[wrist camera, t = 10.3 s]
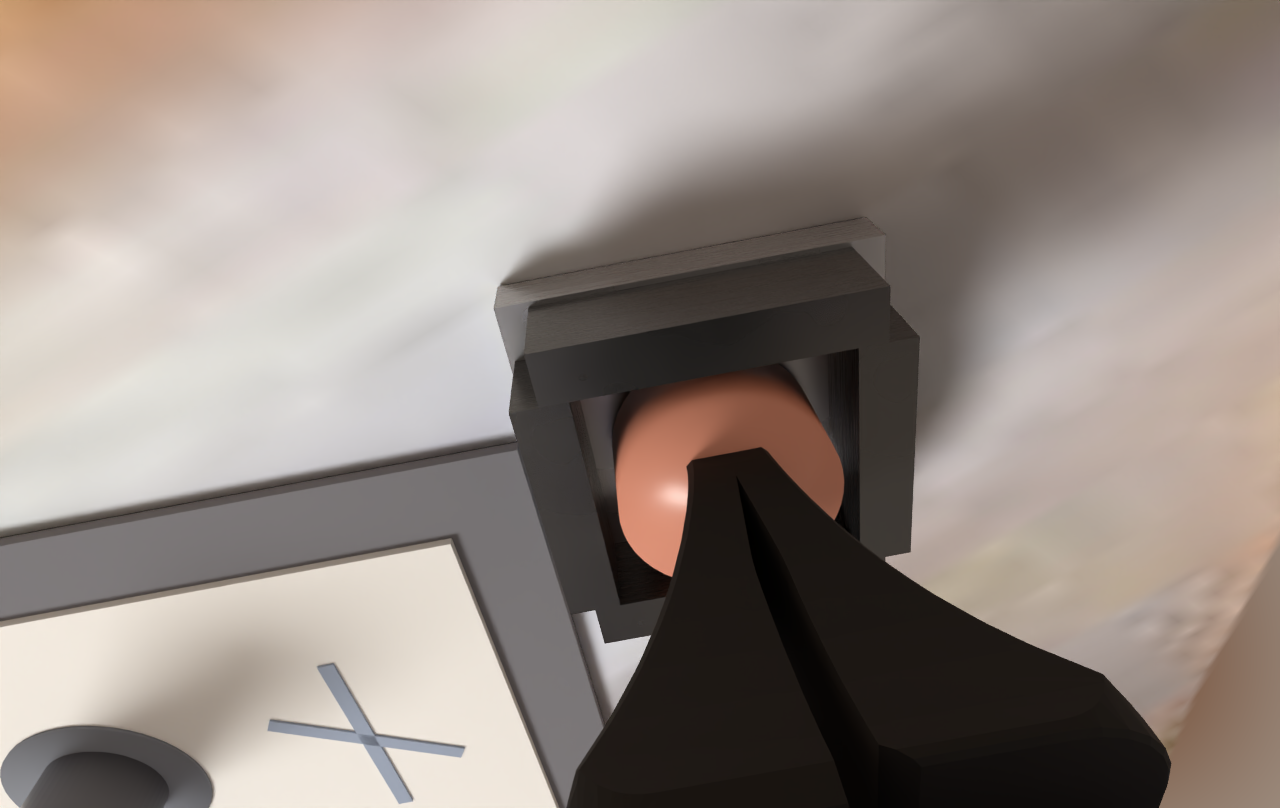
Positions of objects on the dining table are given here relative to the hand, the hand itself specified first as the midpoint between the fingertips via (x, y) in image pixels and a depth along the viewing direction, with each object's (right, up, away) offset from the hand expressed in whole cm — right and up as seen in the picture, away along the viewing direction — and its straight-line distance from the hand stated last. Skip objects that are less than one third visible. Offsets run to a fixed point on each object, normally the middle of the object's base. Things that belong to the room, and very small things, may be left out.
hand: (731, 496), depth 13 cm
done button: (0, +1, +2) cm, 2 cm away
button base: (0, +2, +3) cm, 3 cm away
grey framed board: (-13, -8, +7) cm, 16 cm away
